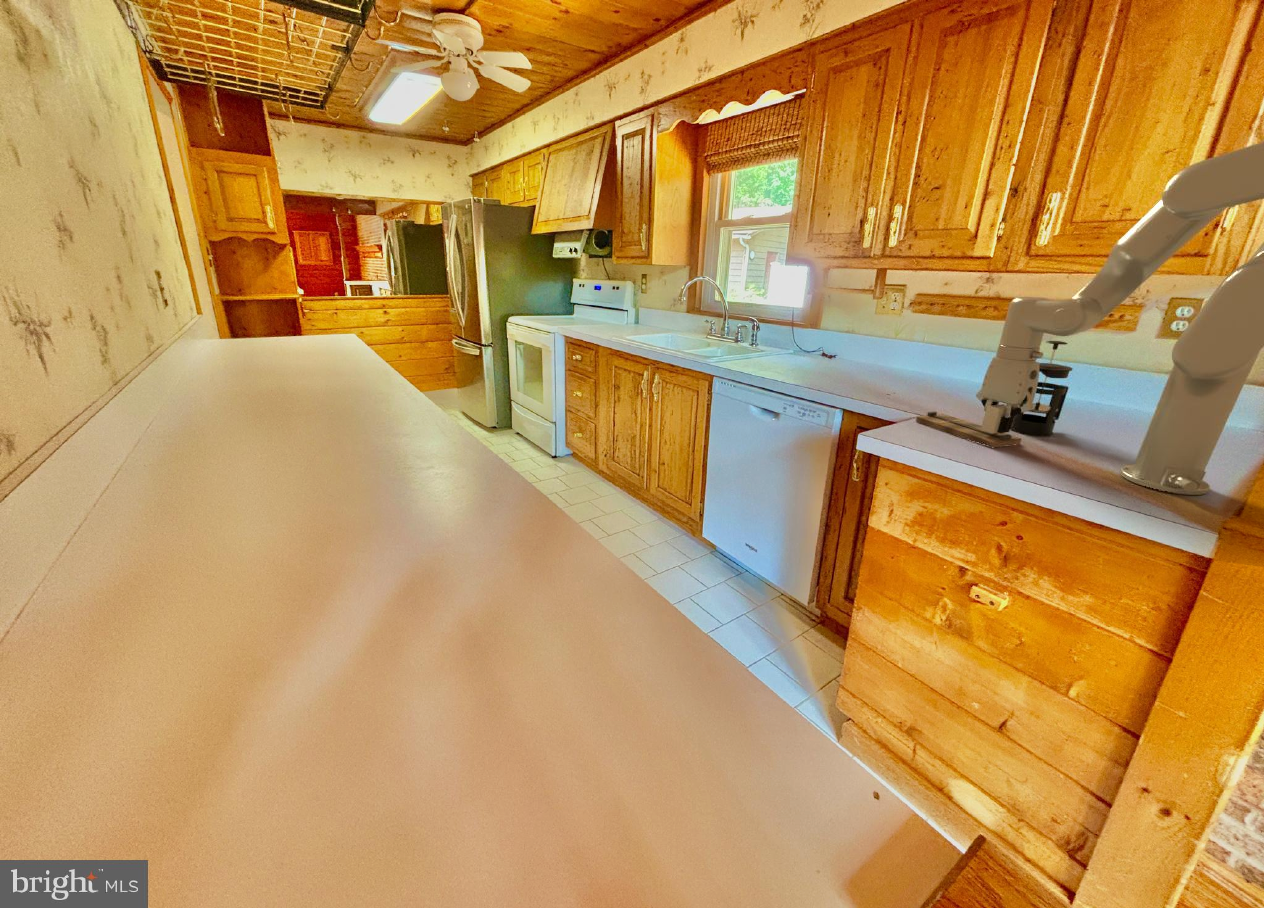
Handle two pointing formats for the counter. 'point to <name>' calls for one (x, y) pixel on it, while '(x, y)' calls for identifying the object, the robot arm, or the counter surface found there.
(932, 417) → the fader board
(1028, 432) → the french press
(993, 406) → the fader cap
